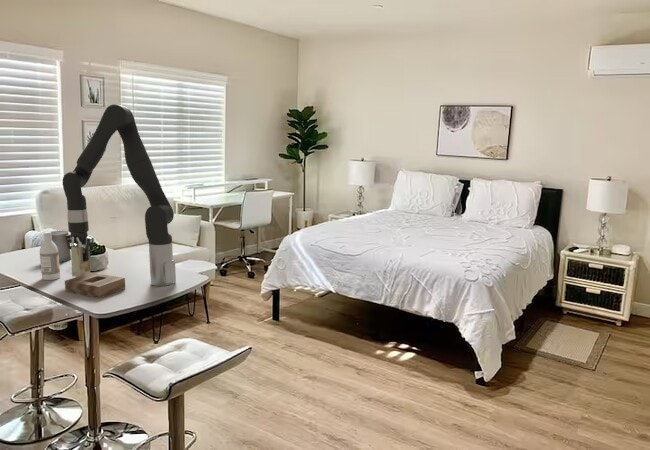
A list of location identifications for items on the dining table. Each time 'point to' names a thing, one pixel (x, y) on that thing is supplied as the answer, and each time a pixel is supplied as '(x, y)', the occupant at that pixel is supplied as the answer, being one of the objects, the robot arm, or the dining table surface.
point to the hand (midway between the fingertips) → (81, 260)
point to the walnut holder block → (95, 285)
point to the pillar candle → (61, 244)
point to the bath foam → (49, 258)
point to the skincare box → (79, 262)
